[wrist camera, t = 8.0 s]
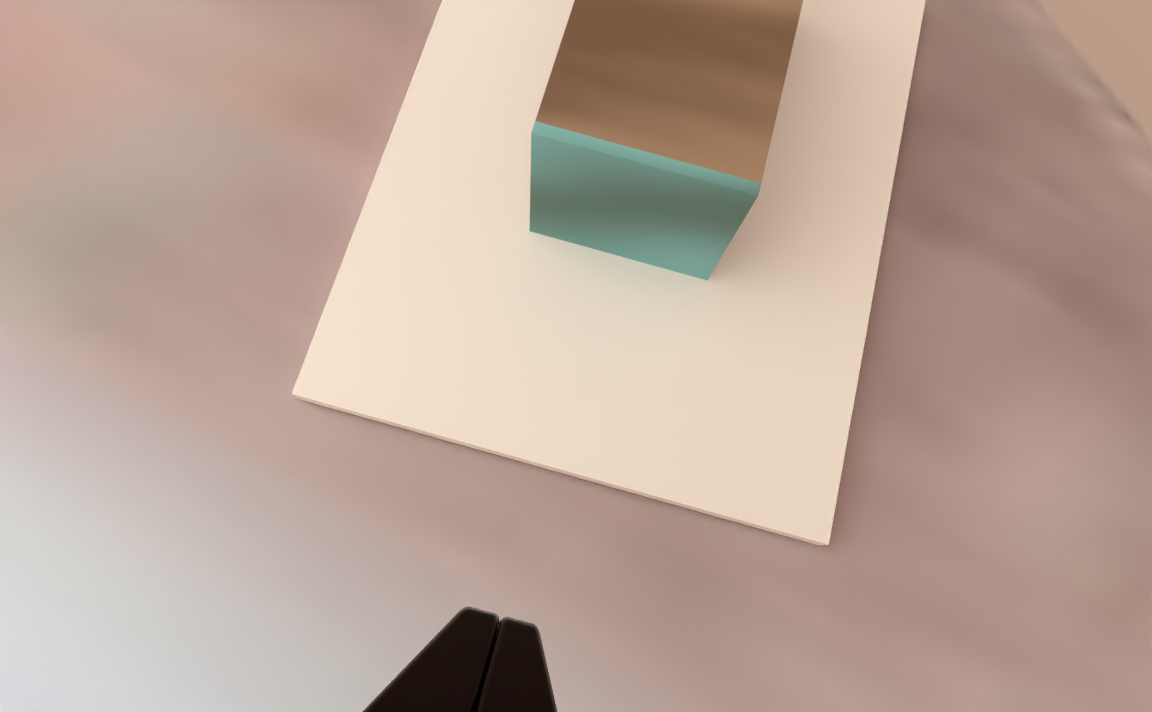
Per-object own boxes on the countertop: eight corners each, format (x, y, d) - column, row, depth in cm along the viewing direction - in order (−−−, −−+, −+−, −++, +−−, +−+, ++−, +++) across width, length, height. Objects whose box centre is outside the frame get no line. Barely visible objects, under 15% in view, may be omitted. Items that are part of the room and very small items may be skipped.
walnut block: (758, 195, 17) (832, -127, 20) (531, 133, 17) (633, -182, 20) (707, 280, 22) (771, 12, 24) (529, 231, 22) (612, -32, 25)
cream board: (820, 545, 21) (829, 544, 20) (298, 399, 21) (292, 393, 20) (916, 11, 26) (925, -2, 25) (489, -105, 26) (488, -121, 25)
